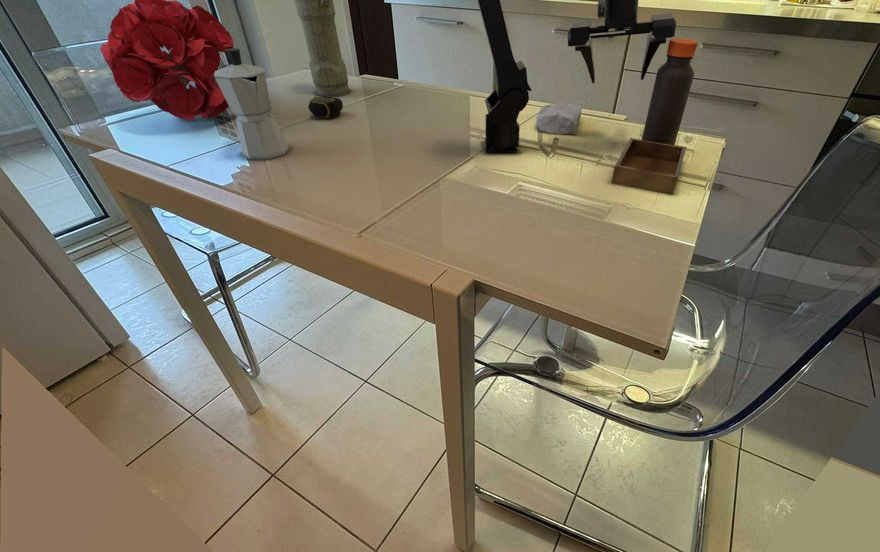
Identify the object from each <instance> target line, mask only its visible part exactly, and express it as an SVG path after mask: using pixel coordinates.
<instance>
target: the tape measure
mask: <svg viewBox="0 0 880 552" xmlns="http://www.w3.org/2000/svg"><path fill="white" fill-rule="evenodd" d="M343 108H344V104H343V100H342V99H341V98H339V97H326V96H314V97H312V98H311V99H309V103H308V110H309V111H310V112H311V113H312V115H313V116H314V117H318V118H323V119H330V118H331V117H335V116H338V115H340V114H341V111H342V110H343Z"/></svg>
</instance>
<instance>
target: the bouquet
mask: <svg viewBox="0 0 880 552" xmlns="http://www.w3.org/2000/svg"><path fill="white" fill-rule="evenodd" d="M109 28H110V31H109V33H108V34H107V41H106V42H105V43H102V45H101V47H100V48H99V51H100V53H101V54H102V56H103V59H104V61H105V63H106V64H107V66H108V67H109V69H110V70H111V72H112V78H113V80H114V83H115V84H116V86H117V88H119V90H120V93H122V95H123V96H124V97H126V99H128V100H129V101H132V102H136V103H140V102H147V101H151V102H152V103H153V104H154V105H155V106H156V107H157V108H158V109H160V110H161V111H163V112H165V113H169V114H170V115H172V116H173V117H174V118H178V119H181V120H186V121H191V122H193V121H195V119H196V118H197V117H198V116H199V117H200V119H201V120H203V119H206V120H208V119H212V118H217V117H218V116H220V115H221V114H222V113H223V112H226V110H227V109H229V108H230V107H229V105H228V103H227V101H226V99H225V97H224V95H223V93H222V91H221V89H220V87H219V85H218V83H217V81H216V79H215V77H214V73H215V71H217V70H219V68H220V65H221V54H220V53H226V51H225V50H226V49H232V48H234V46H235V44H234V39H233V37H232V36H231V33H230V32H229V31H228V30H227V29H226V27H225V26H224V25H223V23H222V22H221V21H219V20H218V19H217V18H216V17H215V15H213V14H212V13H211V12H210V11H208V10H206V9H204V7H202V6H200V5H195V6H193V7H191V8H188V7H186V6H184V4H183V3H181V2H179V1H178V0H132V3H127V5H125V6H122V7H120V8H118V12H117V14H116V15H115V16H114V17H113V18H112V20H111V23H110V26H109ZM164 48H165V49H166V50H162V49H164ZM190 82H193V83H194V86H193V85H192V84H191V83H190Z"/></svg>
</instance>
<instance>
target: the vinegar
mask: <svg viewBox="0 0 880 552" xmlns="http://www.w3.org/2000/svg"><path fill="white" fill-rule="evenodd" d="M697 47H698V41H697V40H695V39H691V38H679V37H678V38H671V39H669V41H668V45H667V49H666V55H665V56H666V57H667V58H666V62H664V63H663V64H662V65H661V66H659V68H658V69H657V71H656V75H655V80H654V83H653V89H652V94H651V98H650V102H649V105H648V110H647V115H646V119H645V123H644V128H643V132H642V137H641V140H646V141H653V142H659V143H665V144H671V145H676V141H677V138H678V135H679V130H680V127H681V123H682V120H683V117H684V113H685V109H686V105H687V102H688V99H689V95H690V92H691V88H692V85H693V81H694V78H695V71H694V69H693V67H692V65H691V61H692V60H694V56H695V55H696V50H697Z"/></svg>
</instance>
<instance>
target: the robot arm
mask: <svg viewBox="0 0 880 552" xmlns="http://www.w3.org/2000/svg"><path fill="white" fill-rule="evenodd" d="M476 1H477V4H478V8H479V11H480V16H481V19H482V23H483V27H484V30H485V35H486V38H487V42H488V45H489V50H490V53H491V57H492V63H493V78H494V79H493V80H494V88H495V89H494V90H493V91H492V92H491V93H490V94H489V95H488V96H487V98H485V100H484V103H485V106H486V109H487V113H485V139H484V152H485V153H487V154H516V153H518V148H519V146H520V131H521V130H520V128H521V127H520V123H519V122H518V117H519V115H520V112H522V111H523V110H524V109H525V108H526V107H527V105H528V103H529V101H530V97H529V96H530V95H529V92H532V88H531V86H530V84H529V82H528V69H527V67H526V65H525V64H524V61H522V60H519V61H517V62H516V60H515V58H514V55H513V50H512V46H511V41H510V38H509V33H508V28H507V24H506V20H505V15H504V12H503V8H502V4H501V0H476ZM638 13H639V0H597V19H601V20H602V19H604V25H598V26H597V25H596V26H591V25H592V24H591V21H580V22H572V23H571V24H570V26H569V27H568V30H567V46H568V47H574V51H575V52H580V54H581V55H582V58H583V60H584V63H585V65H586V67H587V71H588V74H589V77H590V80H591V83H592V84H595V81H596V80H595V79H596V72H595V61H594V50H593V39H601V38H612V37H622V36H634V35H635V36H636V35H644V34H647V37H646V44H645V49H644V55H643V60H642V65H641V70H640V72H641V73H640V80H641V81H644V79H645V77H646V74H647V72H648V69H649V67H650V65H651V62H652V60H653V58H654V56H655V55H656V53H657V51H658V49H659V47H660V46H661V45H664V44H666V43H667V39H669V38H671V39H673V38H674V37H675V35H676V28H677V21H676V19H675V16H674V15H673V14H672V13H659V14H651V17H650V20H647V21H638V15H639V14H638ZM613 29H614V30H613Z"/></svg>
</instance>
